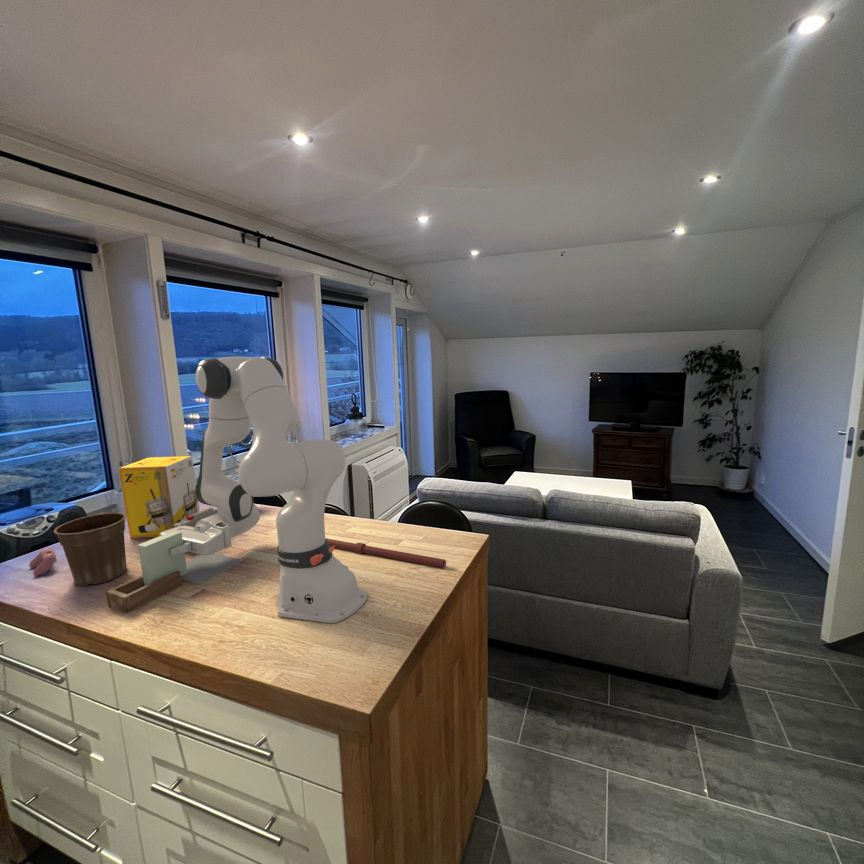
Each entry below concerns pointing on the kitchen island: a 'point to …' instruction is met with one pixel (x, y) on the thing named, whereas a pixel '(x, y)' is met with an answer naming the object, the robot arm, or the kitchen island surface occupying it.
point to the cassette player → (196, 517)
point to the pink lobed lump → (43, 561)
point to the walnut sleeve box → (141, 591)
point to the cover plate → (161, 557)
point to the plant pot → (94, 547)
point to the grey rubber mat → (208, 567)
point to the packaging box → (158, 494)
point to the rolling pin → (387, 553)
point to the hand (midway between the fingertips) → (164, 551)
